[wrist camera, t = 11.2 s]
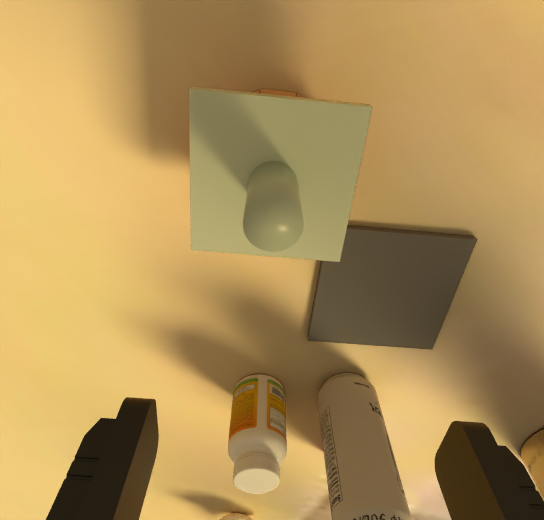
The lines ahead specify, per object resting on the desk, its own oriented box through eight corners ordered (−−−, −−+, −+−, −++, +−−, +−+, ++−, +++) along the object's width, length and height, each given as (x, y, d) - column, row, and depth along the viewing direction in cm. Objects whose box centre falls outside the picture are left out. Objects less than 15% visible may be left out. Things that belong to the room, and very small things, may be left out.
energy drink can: (373, 406, 43) (416, 568, 31) (318, 410, 44) (337, 572, 31) (374, 366, 40) (422, 528, 28) (314, 371, 41) (334, 534, 28)
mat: (474, 236, 33) (477, 239, 32) (430, 345, 39) (432, 349, 38) (328, 223, 32) (329, 227, 32) (307, 336, 38) (307, 340, 38)
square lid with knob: (369, 104, 23) (399, 131, 17) (337, 255, 28) (353, 312, 22) (191, 86, 22) (166, 108, 17) (193, 244, 27) (174, 299, 22)
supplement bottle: (230, 404, 43) (221, 496, 35) (237, 369, 41) (228, 460, 32) (279, 409, 44) (281, 501, 36) (289, 375, 41) (293, 467, 33)
